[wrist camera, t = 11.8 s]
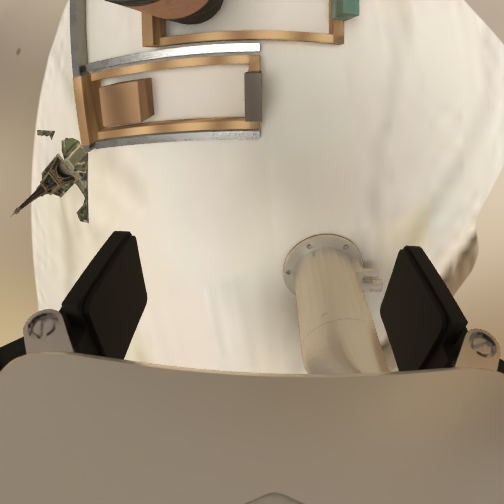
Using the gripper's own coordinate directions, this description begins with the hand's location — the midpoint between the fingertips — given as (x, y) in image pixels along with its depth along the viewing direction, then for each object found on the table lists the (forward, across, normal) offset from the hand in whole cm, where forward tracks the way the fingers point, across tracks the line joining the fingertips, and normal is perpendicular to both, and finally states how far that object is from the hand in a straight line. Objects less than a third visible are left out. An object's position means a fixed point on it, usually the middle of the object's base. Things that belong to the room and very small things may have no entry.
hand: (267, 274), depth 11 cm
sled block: (+31, +12, -4) cm, 34 cm away
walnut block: (+31, +17, -3) cm, 36 cm away
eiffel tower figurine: (+32, +31, +7) cm, 45 cm away
